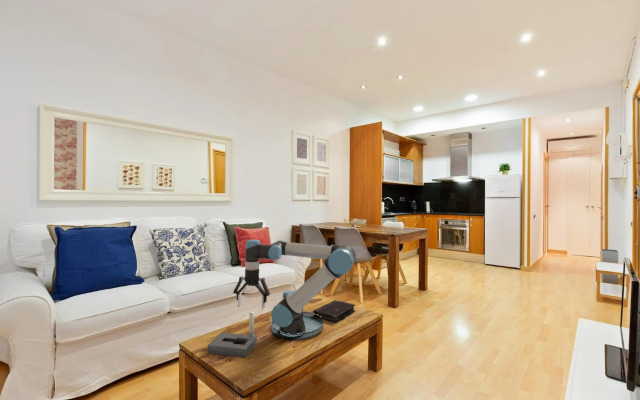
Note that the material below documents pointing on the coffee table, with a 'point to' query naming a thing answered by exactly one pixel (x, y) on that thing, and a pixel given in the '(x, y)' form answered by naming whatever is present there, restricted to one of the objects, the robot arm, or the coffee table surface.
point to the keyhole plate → (226, 346)
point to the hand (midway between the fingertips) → (251, 307)
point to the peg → (251, 324)
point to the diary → (335, 311)
